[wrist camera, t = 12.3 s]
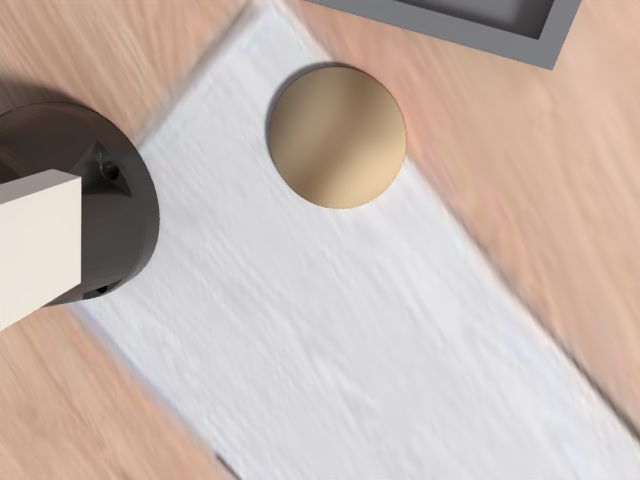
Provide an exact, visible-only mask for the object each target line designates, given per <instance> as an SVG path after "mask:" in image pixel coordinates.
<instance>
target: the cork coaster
mask: <svg viewBox="0 0 640 480" xmlns="http://www.w3.org/2000/svg"><path fill="white" fill-rule="evenodd" d="M269 142H270V150H271V154H272V158H273V161H274V163H275V166H276V168H277V170H278V172H279V173H280V175H281V177H282V178H283V180H284V181H285V182H286V183H287V185H288V186H289V187H290V188H291V189H292V190H293V191H294V192H295V193H297V194H298V195H299V196H301V197H302V198H304V199H306V200H307V201H309V202H311V203H313V204H316V205H319V206H322V207H326V208H332V209H347V208H353V207H357V206H361V205H363V204H366V203H368V202H370V201H372V200H373V199H375V198H377V197H378V196H379V195H381V194H382V193H383V192H384V191H385V190H386V189H387V188H388V187H389V186H390V184H391V183H392V182H393V180H394V179H395V178H396V176H397V174H398V172H399V171H400V168H401V166H402V163H403V160H404V157H405V153H406V144H407V134H406V127H405V122H404V118H403V115H402V112H401V110H400V108H399V106H398V104H397V102H396V101H395V99H394V97H393V96H392V95H391V93H390V92H389V91H388V90H387V89H386V88H385V87H384V86H383V85H382V84H381V83H380V82H378V81H377V80H376V79H374V78H373V77H371V76H369V75H367V74H366V73H363V72H361V71H358V70H355V69H351V68H345V67H328V68H323V69H318V70H315V71H312V72H309V73H307V74H305V75H303V76H302V77H300V78H299V79H297V80H296V81H294V82H293V83H292V84H291V85H290V86H289V87H288V88H287V89H286V90H285V91H284V93H283V94H282V95H281V97H280V99H279V100H278V102H277V104H276V106H275V108H274V111H273V114H272V117H271V121H270V128H269Z"/></svg>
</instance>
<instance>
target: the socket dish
mask: <svg viewBox="0 0 640 480" xmlns="http://www.w3.org/2000/svg"><path fill="white" fill-rule="evenodd" d="M305 1H308V2H312V3H315V4H319V5H323V6H326V7H330V8H333V9H337V10H340V11H344V12H347V13H351V14H354V15H358V16H361V17H365V18H368V19H372V20H376V21H379V22H383V23H386V24H390V25H393V26H397V27H400V28H404V29H407V30H411V31H414V32H418V33H421V34H425V35H429V36H432V37H436V38H439V39H443V40H446V41H450V42H453V43H457V44H460V45H464V46H467V47H471V48H474V49H478V50H482V51H485V52H489V53H492V54H496V55H499V56H503V57H506V58H510V59H513V60H517V61H520V62H524V63H527V64H531V65H535V66H538V67H542V68H545V69H549V70H553V67H554V65H555V63H556V60H557V58H558V55H559V53H560V51H561V48H562V46H563V43H564V41H565V39H566V36H567V34H568V32H569V29H570V27H571V24H572V22H573V20H574V17H575V15H576V12H577V10H578V8H579V5H580V3H581V0H305Z"/></svg>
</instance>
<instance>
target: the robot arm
mask: <svg viewBox="0 0 640 480" xmlns="http://www.w3.org/2000/svg"><path fill="white" fill-rule="evenodd" d="M159 220H160V218H159V205H158V199H157V195H156V191H155V187H154V184H153V181H152V179H151V176H150V174H149V172H148V169H147V167H146V165H145V163H144V162H143V160H142V158H141V157H140V155H139V153H138V152H137V150H136V149H135V148H134V146H133V145H132V144H131V142H130V141H129V140H128V139H127V138H126V137H125V136H124V135H123V134H122V133H121V132H120V131H119V130H118V129H117V128H116V127H115V126H114V125H113V124H111V123H110V122H109V121H107V120H106V119H105V118H103V117H102V116H100V115H98V114H97V113H95V112H93V111H91V110H89V109H86V108H84V107H81V106H78V105H75V104H70V103H64V102H47V103H40V104H33V105H26V106H21V107H18V108H15V109H12V110H10V111H7V112H6V113H4V114H2V115H0V332H1V331H2V330H4V329H5V328H7V327H9V326H10V325H12V324H14V323H15V322H17V321H18V320H20V319H22V318H23V317H25V316H27V315H28V314H30V313H32V312H34V311H35V310H37V309H39V308H43V307H48V306H54V305H59V304H65V303H70V302H75V301H80V300H85V299H91V298H96V297H100V296H103V295H105V294H108V293H110V292H112V291H114V290H116V289H117V288H119V287H120V286H122V285H123V284H125V283H126V282H128V281H129V280H131V279H132V278H134V277H135V276H136V275H138V274H139V273H140V272H141V271H142V270H143V268H144V267H145V266H146V264H147V263H148V262H149V260H150V258H151V256H152V254H153V252H154V249H155V246H156V243H157V239H158V234H159Z"/></svg>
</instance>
